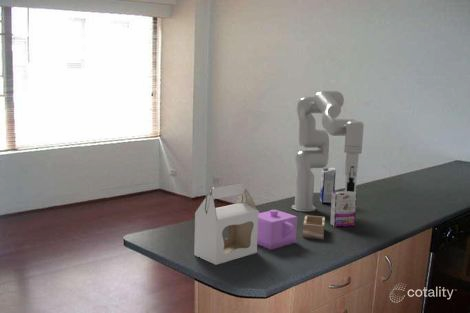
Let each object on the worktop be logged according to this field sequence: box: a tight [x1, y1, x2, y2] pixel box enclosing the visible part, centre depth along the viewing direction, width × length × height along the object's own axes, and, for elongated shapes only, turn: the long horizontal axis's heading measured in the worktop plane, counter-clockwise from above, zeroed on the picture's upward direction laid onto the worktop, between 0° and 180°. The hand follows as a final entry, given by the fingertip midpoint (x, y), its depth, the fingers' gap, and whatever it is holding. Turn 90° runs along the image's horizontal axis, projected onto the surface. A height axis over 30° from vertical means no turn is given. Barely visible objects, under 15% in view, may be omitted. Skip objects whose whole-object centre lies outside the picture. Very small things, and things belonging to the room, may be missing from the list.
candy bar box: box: [329, 190, 358, 228], centre depth 247 cm, size 11×5×16 cm, turn 105°
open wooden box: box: [302, 214, 326, 240], centre depth 233 cm, size 15×9×6 cm, turn 169°
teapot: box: [257, 209, 298, 251], centre depth 220 cm, size 15×25×14 cm, turn 41°
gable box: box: [193, 182, 259, 266], centre depth 202 cm, size 22×13×28 cm, turn 133°
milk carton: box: [319, 166, 337, 205], centre depth 288 cm, size 7×7×20 cm
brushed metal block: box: [344, 174, 358, 195], centre depth 228 cm, size 4×4×9 cm
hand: (350, 189), depth 229 cm, fingers closed on brushed metal block, 4 cm apart
